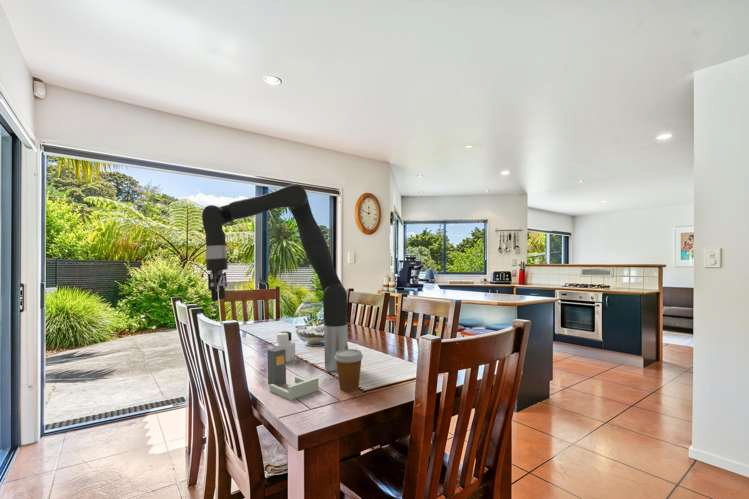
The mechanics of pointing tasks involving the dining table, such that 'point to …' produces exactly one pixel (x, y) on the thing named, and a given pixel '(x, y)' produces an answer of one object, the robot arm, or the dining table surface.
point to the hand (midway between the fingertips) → (218, 300)
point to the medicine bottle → (286, 345)
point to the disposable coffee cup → (348, 369)
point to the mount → (297, 388)
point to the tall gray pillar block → (276, 366)
